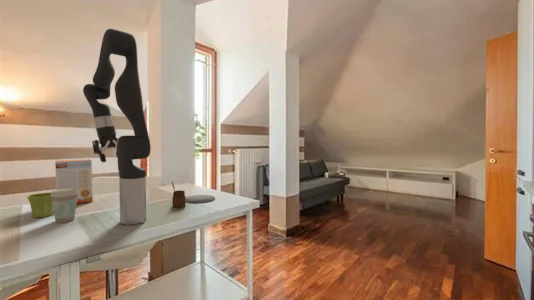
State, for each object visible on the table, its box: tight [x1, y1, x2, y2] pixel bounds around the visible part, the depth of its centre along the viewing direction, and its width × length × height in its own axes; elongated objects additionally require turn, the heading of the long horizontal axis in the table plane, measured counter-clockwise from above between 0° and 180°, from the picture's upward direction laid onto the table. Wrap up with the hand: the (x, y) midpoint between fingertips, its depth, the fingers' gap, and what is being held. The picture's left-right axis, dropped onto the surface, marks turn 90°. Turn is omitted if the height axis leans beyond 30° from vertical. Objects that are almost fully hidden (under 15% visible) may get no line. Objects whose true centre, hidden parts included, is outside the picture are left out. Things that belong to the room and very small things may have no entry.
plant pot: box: [26, 192, 54, 218], centre depth 108 cm, size 9×9×9 cm
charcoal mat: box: [185, 194, 216, 204], centre depth 140 cm, size 16×16×1 cm
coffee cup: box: [50, 188, 78, 224], centre depth 103 cm, size 8×9×12 cm
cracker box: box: [54, 158, 94, 205], centre depth 128 cm, size 14×6×21 cm, turn 130°
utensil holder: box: [171, 181, 187, 208], centre depth 126 cm, size 6×6×12 cm
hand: (112, 160), depth 126 cm, fingers open, 8 cm apart
